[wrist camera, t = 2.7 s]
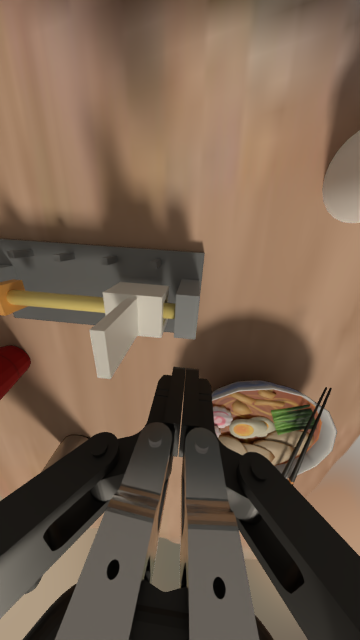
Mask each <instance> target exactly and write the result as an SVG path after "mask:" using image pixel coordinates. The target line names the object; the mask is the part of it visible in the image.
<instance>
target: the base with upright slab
mask: <svg viewBox="0 0 360 640" xmlns="http://www.w3.org/2000/svg"><path fill="white" fill-rule="evenodd" d="M322 191H323V202H324V204H325V206H326V209H327V211H328V212H329V213H330V214H331V215H332V217H333V218H335V219H337V220H339V221H341V222H347V223H360V130H359V131H358V132H357V133H355V134H354V135H353V136H351V137H350V138H349V139H348V140H347V141H346V142H345V143H344V144H343V145H342V147H341V148H340V149H339V150H338V151H337V153H336V154H335V156H334V158H333V159H332V161H331V162H330V164H329V167H328V169H327V172H326V174H325V177H324V183H323V189H322Z"/></svg>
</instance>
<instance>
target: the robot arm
mask: <svg viewBox="0 0 360 640" xmlns="http://www.w3.org/2000/svg"><path fill="white" fill-rule="evenodd" d="M184 380H185V368H180V367H173V372H172V376H171V375H163V376H162V377H161V379H160V380H159V381H158V385H157V389H156V392H155V396H154V399H153V403H152V407H151V410H150V414H149V418H148V421H147V424H146V425H145V427H144V428H143V429H142V430H141V431H140V432H139V433H137V434H135V435H133V436H129V437H125V438H120V439H117V438H116V436H115V435H113V434H112V433H109V432H102V433H98V434H96V435H94V436H93V437H91V438H90V439H88V438H86V437H83V436H78V435H71V436H68V437H66V438H65V439H64V440H63V442H62V443H60V445H59V446H58V448H57V449H56V451H55V452H54V454H53V455H52V457H51V458H50V460H49V461H48V463H47V464H46V466H45V467H44V469H43V470H42V472H41V473H40V474H38V475H37V476H36V477H34V478H33V479H31V480H30V481H28V482H27V483H26V484H24V485H23V486H21V487H20V488H18V489H17V490H16V491H14V492H13V493H11V494H10V495H8V496H7V497H6V498H4V499H3V500H1V501H0V618H1V617H2V616H3V615H4V614H5V613H6V612H7V611H8V610H9V609H10V608H11V607H12V606H13V605H14V604H15V603H16V602H17V601H18V600H19V599H20V598H21V597H22V596H23V595H24V594H26V593H29V592H30V591H32V590H34V589H35V588H36V587H37V585H38V583H39V582H40V580H41V578H42V576H43V574H44V573H45V572H46V571H47V570H48V569H49V568H50V567H51V566H52V565H53V564H54V563H55V562H56V561H57V560H58V559H59V558H60V557H61V556H62V555H63V554H64V553H65V552H66V551H67V550H68V548H70V547H71V546H72V544H74V542H75V541H76V540H77V539H78V538H79V537H80V536H81V535H82V534H83V533H84V532H85V531H86V530H87V529H88V528H89V527H90V526H91V525H92V524H93V523H94V522H95V521H96V520H97V519H98V518H99V517H100V516H101V515H102V514H103V513H104V512H105V513H104V516H103V518H102V521H101V524H100V526H99V529H98V531H97V534H96V536H95V539H94V542H93V544H92V546H91V549H90V552H89V554H88V557H87V559H86V562H85V564H84V567H83V570H82V572H81V575H80V577H79V580H78V582H77V584H75V585H74V586H72V587H71V588H70V589H68V590H67V591H66V592H65V593H63V594H62V595H61V596H60V597H59V598H58V599H57V600H56V601H55V602H54V603H53V604H52V605H51V606H50V607H49V609H48V610H47V611H46V612H45V613H44V614H43V616H42V617H41V618H40V619H39V620H38V622H37V623H36V624H35V625H34V627H33V628H32V629H31V630H30V631H29V633H28V634H27V635H26V636H25V637H24V639H23V640H273V638H272V636H271V635H270V633H269V632H268V630H267V629H266V628H265V626H264V625H263V624H262V622H261V621H260V620H259V619H258V618H257V617H256V616H255V614H254V609H253V604H252V599H251V593H250V588H249V582H248V577H247V572H246V566H245V561H244V556H243V550H242V545H241V540H240V535H239V531H240V532H241V534H242V535H243V537H244V539H245V540H246V542H247V543H248V545H249V547H250V548H251V550H252V551H253V553H254V555H255V556H256V558H257V559H258V561H259V562H260V564H261V565H262V567H263V569H264V570H265V572H266V574H267V575H268V577H269V578H270V580H271V582H272V583H273V585H274V586H275V588H276V590H277V591H278V593H279V594H280V596H281V597H282V599H283V601H284V602H285V604H286V605H287V607H288V609H289V610H290V611H291V613H292V615H293V616H294V618H295V620H296V621H297V623H298V625H299V626H300V627H301V629H302V631H303V632H304V634H305V635H306V637H307V639H308V640H360V556H359V555H358V554H357V553H356V552H355V551H354V550H353V549H352V548H351V547H350V546H349V545H348V544H347V542H346V541H345V540H344V539H343V538H342V537H341V536H340V535H339V534H338V533H337V532H336V531H335V530H334V529H333V528H332V527H331V525H330V524H329V523H328V522H327V521H326V520H325V519H324V518H323V517H322V516H321V515H320V514H319V513H318V512H317V511H316V510H315V509H314V507H312V505H311V504H310V503H309V502H308V501H307V500H306V499H305V498H304V497H303V496H302V495H301V494H300V493H299V492H298V490H297V489H296V488H295V487H294V486H293V485H292V484H291V483H290V482H289V481H288V480H287V479H286V478H285V477H284V476H283V475H282V474H281V472H280V471H279V470H278V469H277V468H276V467H275V466H274V465H273V464H272V463H271V462H270V461H269V460H268V459H267V458H266V457H265V456H263V455H261V454H259V453H257V452H247V453H245V454H243V455H241V454H239V453H237V452H235V451H233V450H231V449H229V448H227V447H226V446H224V445H223V444H222V443H221V441H220V440H219V439H218V437H217V435H216V432H215V426H214V414H213V403H212V391H211V385H210V384H209V382H208V380H207V379H199V369H190V368H187V369H186V380H185V391H184ZM183 391H184V402H183ZM182 402H183V414H182V425H181V437H180V448H179V457H183V464H182V475H181V545H180V546H181V547H180V587H179V589H176V590H173V591H169V592H163V591H161V590H159V589H158V588H156V587H155V586H153V585H152V584H151V582H152V576H153V571H154V565H155V559H156V552H157V546H158V538H159V532H160V527H161V521H162V516H163V510H164V505H165V499H166V494H167V488H168V483H169V477H170V474H171V470H172V461H173V456H176V457H177V455H178V444H179V433H180V423H181V412H182Z"/></svg>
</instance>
